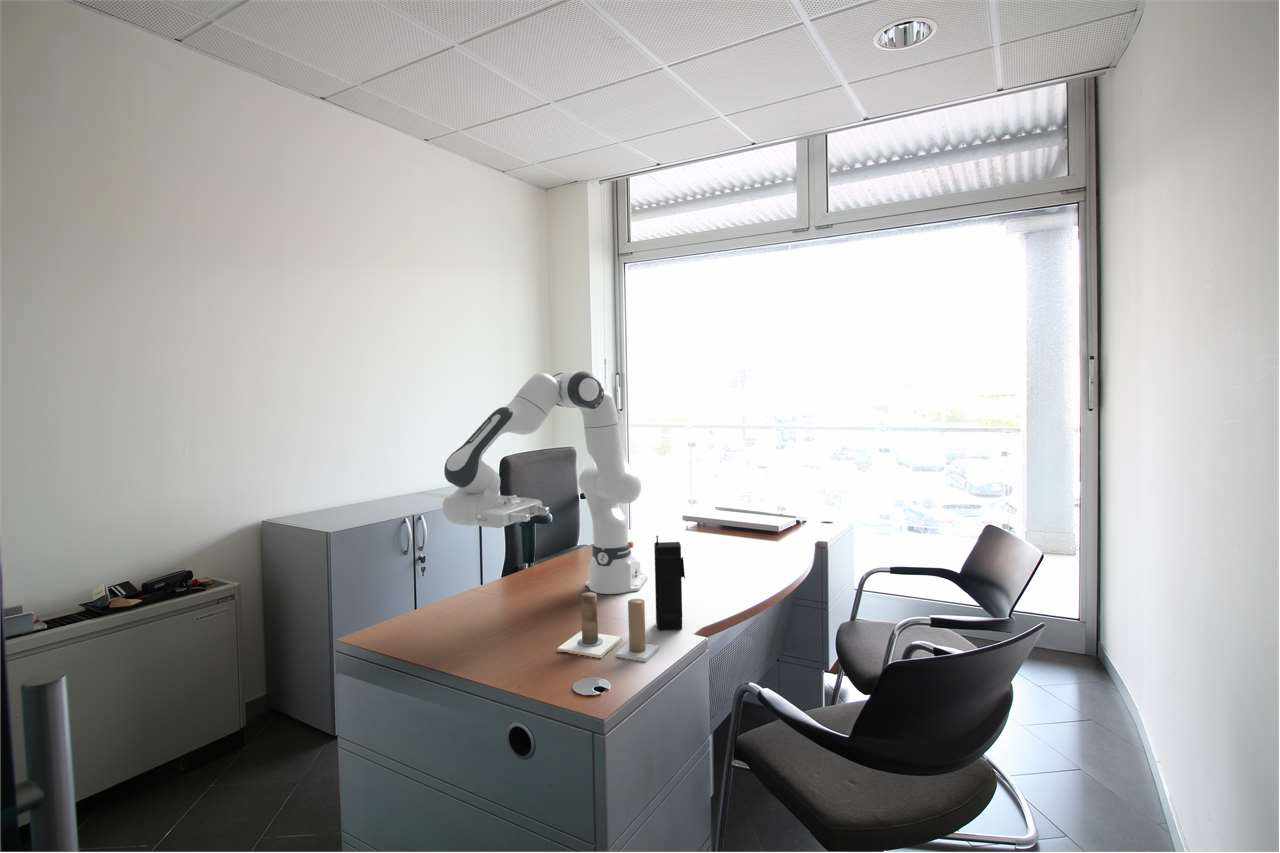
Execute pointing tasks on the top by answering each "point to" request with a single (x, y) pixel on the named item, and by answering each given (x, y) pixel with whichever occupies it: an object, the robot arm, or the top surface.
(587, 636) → the walnut pin
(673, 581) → the portable radio
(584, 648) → the plate
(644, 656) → the tan wooden dowel
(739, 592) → the top surface
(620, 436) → the robot arm
